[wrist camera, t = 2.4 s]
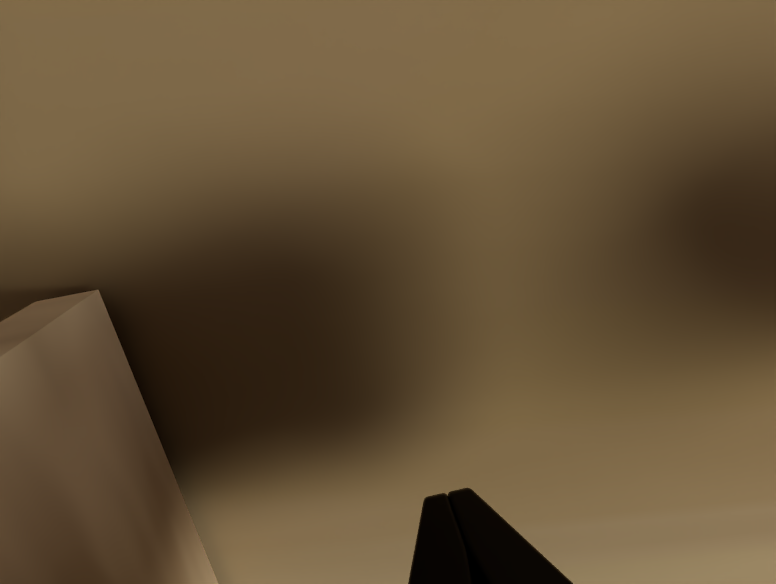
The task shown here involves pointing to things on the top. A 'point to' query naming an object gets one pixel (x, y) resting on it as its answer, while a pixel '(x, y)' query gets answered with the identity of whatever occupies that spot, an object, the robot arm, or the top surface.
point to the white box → (84, 459)
